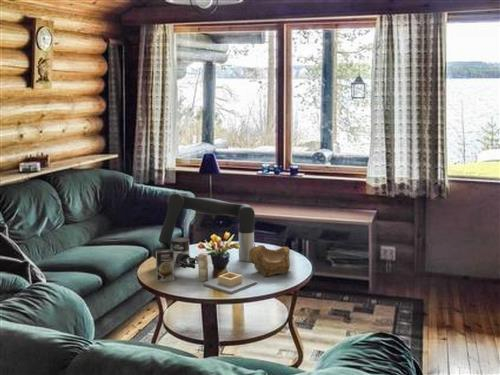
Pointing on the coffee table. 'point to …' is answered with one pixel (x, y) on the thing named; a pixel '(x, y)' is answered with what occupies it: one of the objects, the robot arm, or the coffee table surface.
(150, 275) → the coffee table surface
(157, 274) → the coffee box
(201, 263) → the wooden peg
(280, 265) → the rough brown rock
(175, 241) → the coffee can
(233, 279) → the collar board
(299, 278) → the coffee table surface
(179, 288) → the coffee table surface
